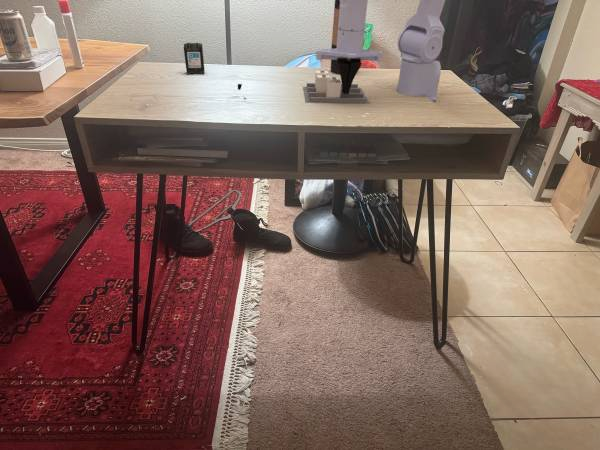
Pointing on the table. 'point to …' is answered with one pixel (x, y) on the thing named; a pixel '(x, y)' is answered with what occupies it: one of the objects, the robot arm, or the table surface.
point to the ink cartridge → (194, 58)
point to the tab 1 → (320, 74)
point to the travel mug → (335, 36)
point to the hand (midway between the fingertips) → (345, 92)
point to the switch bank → (320, 97)
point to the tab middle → (321, 82)
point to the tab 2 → (333, 88)
